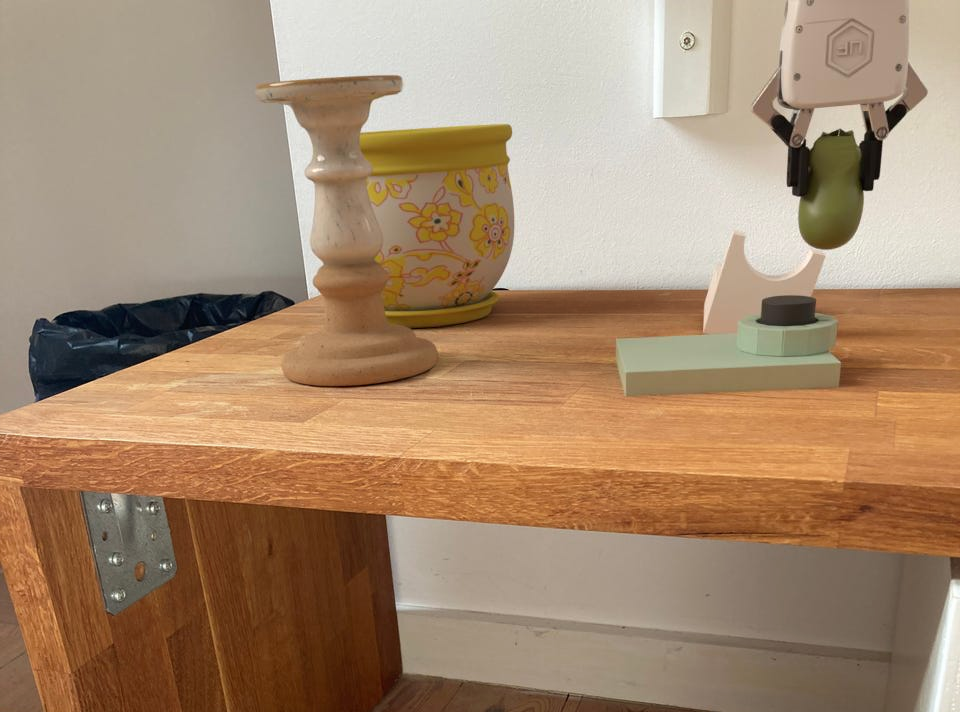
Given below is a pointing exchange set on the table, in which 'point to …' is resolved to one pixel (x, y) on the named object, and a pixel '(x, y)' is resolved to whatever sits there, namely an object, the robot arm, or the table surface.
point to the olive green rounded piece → (832, 192)
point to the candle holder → (346, 240)
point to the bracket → (751, 286)
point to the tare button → (788, 310)
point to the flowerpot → (441, 220)
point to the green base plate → (732, 359)
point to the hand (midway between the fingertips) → (831, 190)
